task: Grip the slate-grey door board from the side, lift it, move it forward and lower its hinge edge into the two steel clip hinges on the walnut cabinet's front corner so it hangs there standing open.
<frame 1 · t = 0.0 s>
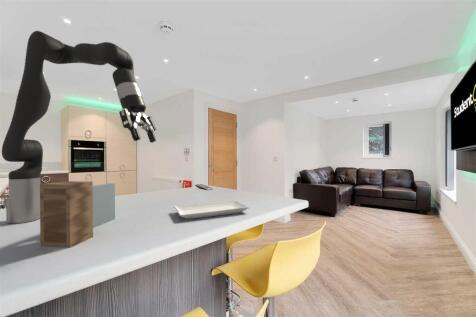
hand: (145, 141, 75), 31 cm above the counter, tool tilted 20°, fingers open, 8 cm apart
door: (100, 223, 83), on the counter
tray: (211, 213, 99), on the counter
cabinet: (66, 235, 71), on the counter
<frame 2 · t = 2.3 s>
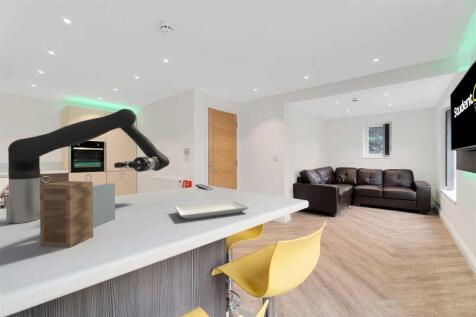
hand: (123, 165, 97), 22 cm above the counter, tool horizontal, fingers open, 8 cm apart
nothing on the counter moved.
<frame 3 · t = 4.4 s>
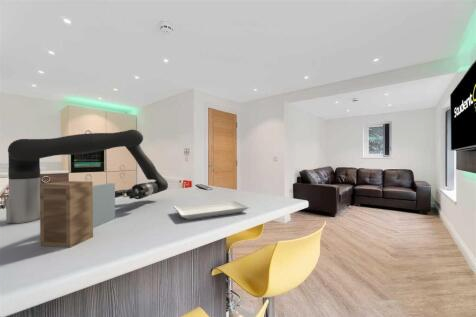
hand: (121, 196, 95), 8 cm above the counter, tool horizontal, fingers open, 8 cm apart
nothing on the counter moved.
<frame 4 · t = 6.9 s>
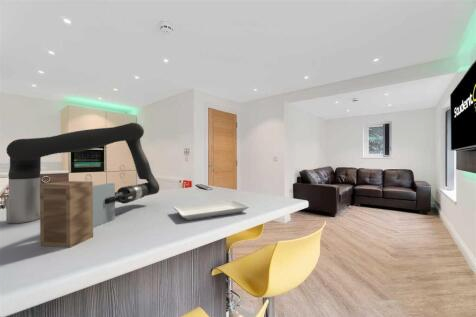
hand: (101, 201, 84), 9 cm above the counter, tool horizontal, fingers closed on door, 3 cm apart
door: (100, 223, 83), on the counter, touching gripper
everything else where it was.
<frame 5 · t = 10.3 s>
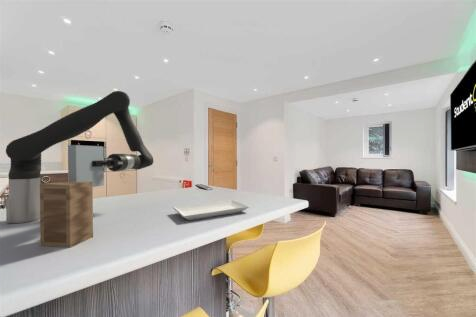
hand: (88, 163, 78), 23 cm above the counter, tool horizontal, fingers closed on door, 3 cm apart
door: (87, 187, 77), point 15 cm above the counter, touching gripper
everything else where it was.
when the fingers open (10 cm above the counter, at t = 13.6 s): door drops 1 cm, on the counter.
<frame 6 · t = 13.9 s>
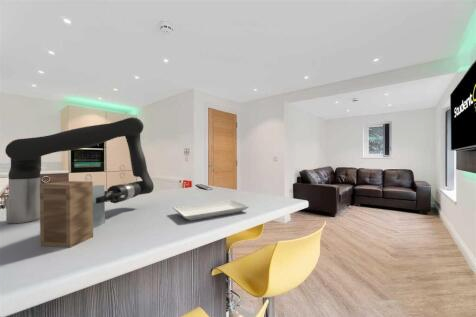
hand: (89, 200, 78), 10 cm above the counter, tool horizontal, fingers open, 5 cm apart
door: (88, 228, 78), on the counter
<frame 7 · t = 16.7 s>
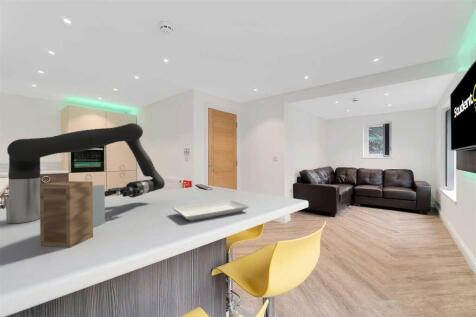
hand: (114, 194, 91), 10 cm above the counter, tool horizontal, fingers open, 8 cm apart
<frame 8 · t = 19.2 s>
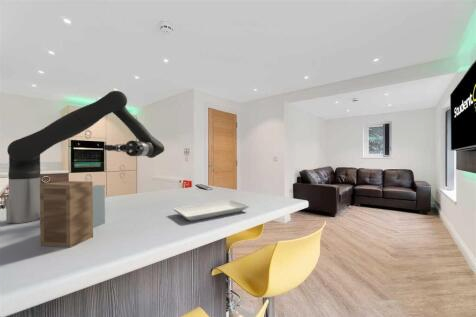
hand: (114, 147, 91), 30 cm above the counter, tool horizontal, fingers open, 8 cm apart
at the end: door 0.3 cm from the target spot on the cabinet, point 0.0 cm above the cabinet's base; door tilted 0°; the gripper is holding nothing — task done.
